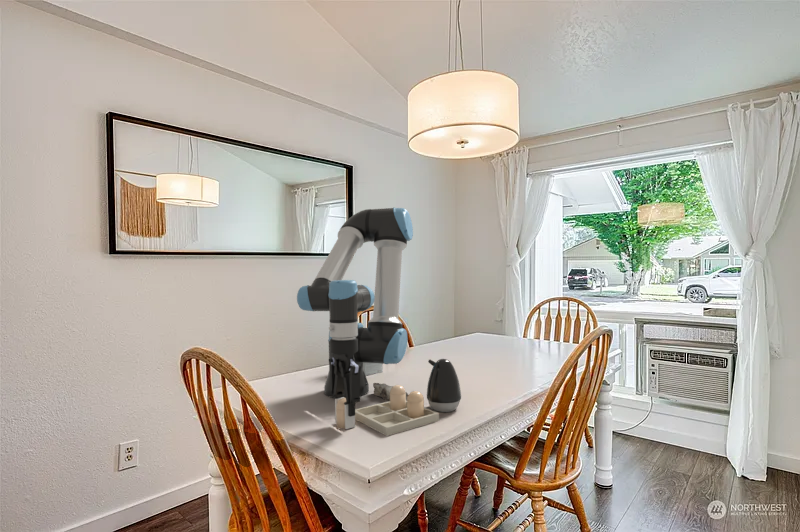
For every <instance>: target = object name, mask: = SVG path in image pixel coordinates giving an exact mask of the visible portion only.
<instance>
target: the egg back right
mask: <svg viewBox="0 0 800 532" xmlns="http://www.w3.org/2000/svg"><path fill="white" fill-rule="evenodd" d="M406 401H407V416H408V417H410V418H412V419H415V418H419V417H423V416H424V408H425V400H424V395H423V393H421V392H420V391H418V390H415V391H414V390H413V391H411V392H410V393H408V397H407V400H406Z"/></svg>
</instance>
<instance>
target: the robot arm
mask: <svg viewBox="0 0 800 532" xmlns="http://www.w3.org/2000/svg"><path fill="white" fill-rule="evenodd" d="M411 218H412V217H411V215H410V213H409V211H408V210H407V209H406V208H404V207H390V208H386V207H385V208H373V209H371V208H369V209H363V210H360V211H358V212H356V213H355V214H353V215H352V216H351V217H349V218H348V219H347V220H346V221H345V222H344V223H343V225H342V226H340V228H339V231H338V232H337V240H336V241H335V243H334V245H333V247H332V248H331V250H330V251H329V254H328V256H327V258H325V261H324V262H323V264H322V266H321V268H320V269H319V271H318V273H317V275H316V276H315V278H314V280H313V281H312V282H311V285H303V286H301V287H300V288H299V289H298V291H297V293H296V294H297V295H296V303H297V304H298V307H299V308H300V310H302V311H308V312H329V326H328V330H329V331H328V340H327V341H328V363H329V364H328V374H327V377H326V380H325V384H324V387H323V389H324V391H323V392H324V393H325V394H324V393H323V394H324V395H325V396H327V397H330V398H334V420H335V421H334V423H335V424H336V405H337V402H338V401H339V400H340V399H342V398H346V402H344V404H345V429H344V430H349V429H352V428H355V427H356V419H355V409H356V403H360V402H361V396H364V395H367V394H368V393H369V392H370V391H369V389H370V387H369V386H370V385H369V382H368V378H367V375H365V372H364V369H363V362H364V363H381V364H383V365H397V364H399V363H400V362H401V361H402V360H403V359H404V356H405V354H406V350H407V348H408V347H407V346H408V340H409V339H408V330H407V329H405V328H403V323H402V321H401V320H400V319H399V309H400V297H401V296H400V293H401V292H400V291H401V290H400V289H401V277H402V275H401V274H402V258H403V251H404V250H405V249H407V246H408V245H407V244H408V242H410V241H411V240H412V239H413V236H414V231H413V230H414V227H413V223H412V219H411ZM369 242H373V246H375V249H377V255H376V256H377V257H376V269H375V283H374V285H375V286H374V291H373V290H372V288H371V287H370V286H368V285H363V284H358V283H357V281H356V280H354V279H343V278H344V276H345V274H346V272H347V270H348V268H349V266H350V264H351V262H352V260H353V258H354V256H355V254H356V253H357V250H358V249H361V247H363V245H364V244H365V243H369ZM372 306H373V310H372V311H373V313H372V317H371V319H369V320H368V322H367V327H364V324H363V323H362V322H359V321H358V313H359V312H365V311H367V310H368V309H370V308H372Z"/></svg>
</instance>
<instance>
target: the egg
mask: <svg viewBox="0 0 800 532" xmlns="http://www.w3.org/2000/svg"><path fill="white" fill-rule="evenodd" d="M344 402H346V398H342V399H340V400H339V401H338V402H337V405H336V423H335V424H336V430H338V429H339V430H338V431H341V429H343V430H346V429H345V404H344Z"/></svg>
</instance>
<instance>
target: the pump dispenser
mask: <svg viewBox="0 0 800 532" xmlns="http://www.w3.org/2000/svg"><path fill="white" fill-rule="evenodd" d="M428 364H430V365H431V366H432V369H431V371H430V375H429V377H428V380H427V381H428V382H427V388H426V399H427V401H428V405H429V406H430V408H431V410H432V411H435V412H437V413H451V412H453V411H455V410H456V409H457V408H458V407H459V406H460V403H461V399H462V392H461V386H460V385H461V384H460V380H459V377H458V374H457V370H456V369H455V367H454V365H453V364H452V362H451V361H450V360H449V359H447V358H440V359H438V360H436V362H435V361H433V360H432V359H428Z"/></svg>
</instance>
